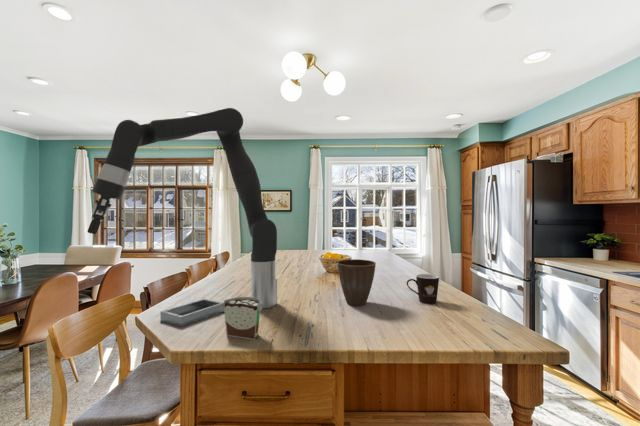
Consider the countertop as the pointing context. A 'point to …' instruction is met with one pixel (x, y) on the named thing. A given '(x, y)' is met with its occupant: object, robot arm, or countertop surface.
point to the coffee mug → (426, 288)
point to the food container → (242, 317)
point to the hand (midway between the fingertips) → (91, 232)
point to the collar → (175, 313)
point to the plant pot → (356, 280)
